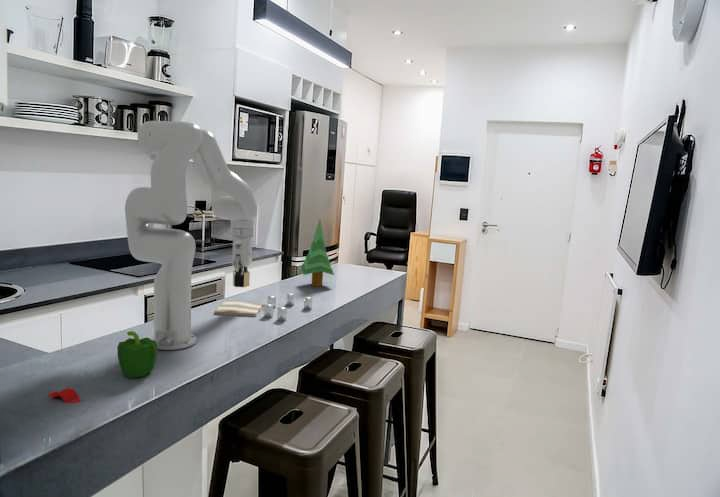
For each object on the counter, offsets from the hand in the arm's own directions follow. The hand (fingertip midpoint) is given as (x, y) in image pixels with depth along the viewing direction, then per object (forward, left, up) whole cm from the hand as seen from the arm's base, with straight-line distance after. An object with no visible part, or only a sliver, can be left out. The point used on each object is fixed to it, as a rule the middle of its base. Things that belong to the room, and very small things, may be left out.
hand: (241, 284), depth 175 cm
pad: (0, 0, -9) cm, 9 cm away
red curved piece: (-73, +19, -10) cm, 76 cm away
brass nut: (0, 0, -1) cm, 1 cm away
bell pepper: (-59, +10, -9) cm, 61 cm away
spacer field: (+1, -16, -9) cm, 18 cm away
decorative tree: (+46, -23, -9) cm, 52 cm away
